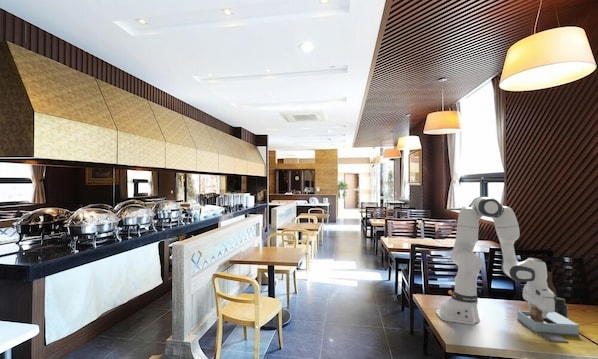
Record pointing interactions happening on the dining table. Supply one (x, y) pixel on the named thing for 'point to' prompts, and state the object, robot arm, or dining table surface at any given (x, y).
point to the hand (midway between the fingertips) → (537, 314)
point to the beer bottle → (550, 283)
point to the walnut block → (536, 314)
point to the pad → (553, 337)
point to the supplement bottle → (561, 307)
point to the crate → (549, 324)
